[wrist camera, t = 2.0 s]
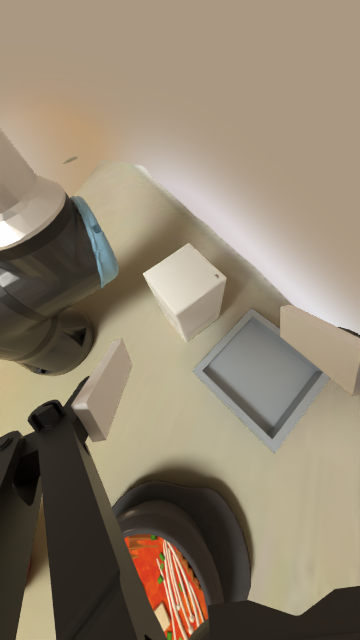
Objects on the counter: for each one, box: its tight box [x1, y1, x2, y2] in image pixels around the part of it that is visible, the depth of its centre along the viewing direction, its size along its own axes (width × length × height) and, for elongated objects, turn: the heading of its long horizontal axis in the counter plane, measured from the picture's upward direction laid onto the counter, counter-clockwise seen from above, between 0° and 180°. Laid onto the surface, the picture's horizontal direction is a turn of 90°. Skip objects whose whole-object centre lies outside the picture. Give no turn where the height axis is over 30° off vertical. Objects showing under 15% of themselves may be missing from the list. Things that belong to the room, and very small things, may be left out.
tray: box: [193, 308, 330, 453], centre depth 31 cm, size 16×16×4 cm
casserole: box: [112, 481, 251, 640], centre depth 22 cm, size 25×19×8 cm
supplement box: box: [143, 243, 227, 342], centre depth 32 cm, size 9×9×15 cm
